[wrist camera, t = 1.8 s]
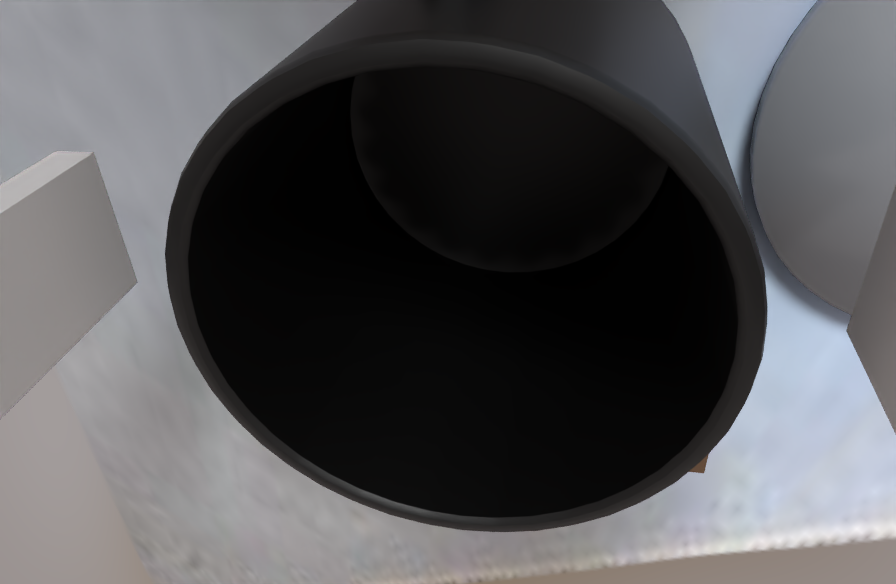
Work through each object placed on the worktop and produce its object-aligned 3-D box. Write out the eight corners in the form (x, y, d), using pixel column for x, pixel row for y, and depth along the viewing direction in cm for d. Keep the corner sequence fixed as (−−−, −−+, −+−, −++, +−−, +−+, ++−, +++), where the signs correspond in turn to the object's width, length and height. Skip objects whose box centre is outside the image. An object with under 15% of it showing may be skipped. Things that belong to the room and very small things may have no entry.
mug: (749, -237, 13) (923, -281, 6) (676, 286, 20) (717, 563, 13) (284, -198, 15) (-14, -194, 8) (360, 272, 22) (237, 508, 15)
